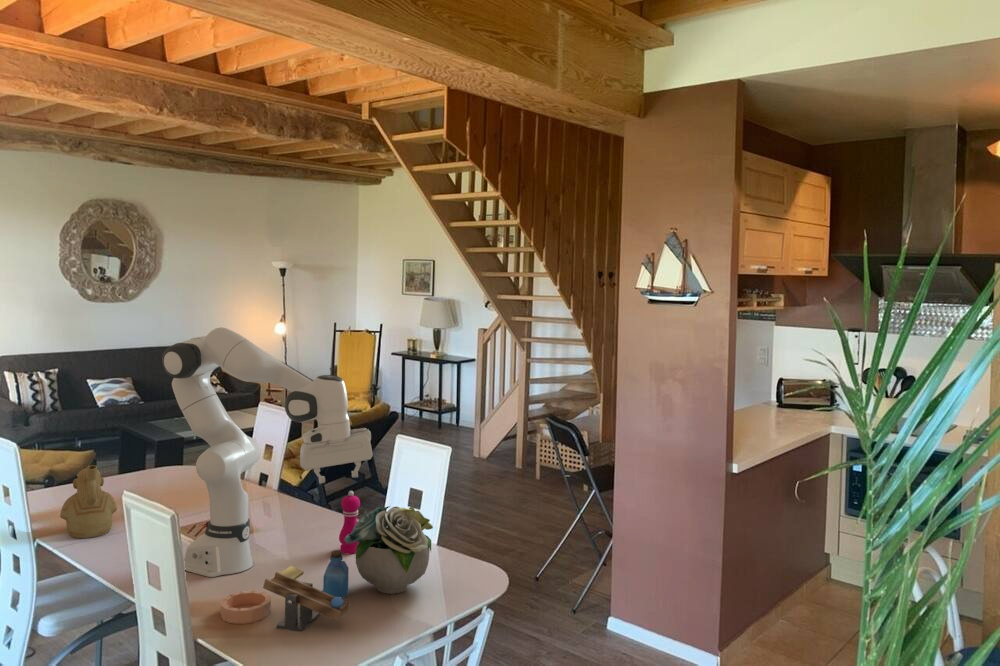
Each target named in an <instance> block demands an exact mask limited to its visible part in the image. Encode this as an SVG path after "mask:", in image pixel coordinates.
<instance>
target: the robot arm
mask: <svg viewBox="0 0 1000 666" xmlns="http://www.w3.org/2000/svg"><path fill="white" fill-rule="evenodd" d="M161 359H162V360H161V361H162V367H163V369H164V371H165V372H166V373H167V375H169V377H172V378H173V379H172V381H171V387H172V390H173V394H174V397H175V399H176V402H177V405H178V407H179V409H180V411H181V412H182V414H183V417H184V418H185V420H186V422H187V423H188V425H189V427H190V430H191V431H192V433H193V434H194V435H195V436H196V437H199V438H200V439H202V440H203V441H205V442H206V443H207V444H208V445H209V446H210V447H208V448H207V449H205V451H203V452H202V453H201V454H200V455H199V456H198V458H197V460H196V463H195V471H196V473H197V476H198V477H199V478H200V479H201V480H202V481H204V483H205V485H206V488H207V492H208V497H209V515H210V516H209V521H207V522H206V523H204V524H202V525H201V526H202V527H201V529H202V530H203V529H205V530H204V533H203V534H201V535H200V536H198V537H197V538H196V539H195V540H194V541H192V542H191V543H189V545H188V546H187V548H186V551H185V555H184V561H185V568H186V571H185V572H190V573H194V574H196V575H200V576H201V575H202V576H205V577H208V578H215V577H218V576H222V575H223V576H224V575H232V574H237V573H240V572H245V571H247V570H248V569H250V568H251V567H253V566H254V560H253V557H252V551H251V545H250V532H251V524H250V523H251V522H250V521H251V520H250V518H249V494H248V492H247V491H246V490H245V489H244V488H243V484H242V480H241V475H242V473H244V472H246V471H248V470H250V469H252V467H253V466H254V465H256V463H257V462H258V461H259V460H260V457H261V447H260V444H259V443H258V441H257V440H256V439H254V438H253V437H251V436H249V435H247V434H246V433H245V432H244V431H243V430H242V429H241V428H240V427H239V426H238V425H237V424H236V423H235V422H234V421H233V419H232V418H231V416H230V415H229V414H228V413H227V410H226V408H225V406H224V405H223V404H222V402H221V400H220V398H219V396H218V395H217V393H216V391H215V389H214V387H213V386H212V383H211V375H217V374H218V373H220V371H221V369H222V370H224V371H225V372H226V373H228V375H230V376H232V377H234V378H235V379H237V380H240V381H243V382H247V383H270V384H275V385H279V386H280V387H283V388H284V389H286V390H287V391H289V393H288V394H287V396H286V398H285V400H284V411H285V414H286V415H287V417H288V418H289V419H290V420H291V421H293V422H295V423H306V422H307V423H308V422H311V421H314V420H316V422H317V427H316V428H313V429H311V430H309V431H307V432H305V433H303V434H302V436H301V437H302V441H303V443H302V444H301V446H300V451H299V464H300V465H299V466H300V467H301V469H302V470H305V471H308V470H313V472H314V473H315V475H316V477H318V483H319V485H321V484H325V483H326V476H324V475H321V474H320V472H321V468H328V467H333V466H337V465H338V466H339V465H345V464H350V463H354V465H355V467H354V469H353V470H351V478H353V479H354V478H355V479H356V478H358V477H359V470H360V469H361V466H362V462H363V461H364V462H365V461H369V460H371V459H372V458H373V449H372V444H371V440H372V433H371V431H370V430H369V428H368V429H367V428H366V427H360V428H354V429H352V428H351V422H350V417H349V415H348V409H349V408H348V407H349V400H348V393H347V387H346V384H345V381H344V380H343V378H341V377H340V376H339V375H333V374H332V375H330V374H323V375H318V376H316V378H315V379H312V378H310V377H309V376H307V375H305V374H304V373H302V372H301V371H299V370H297V369H296V368H293V366H291V365H289V364H287V363H285V362H283V361H281V360H280V359H278V358H276V357H274V356H272V355H271V354H269V353H268V352H266V351H264V350H263V349H262V348H260V347H259V346H257V345H256V344H255V343H253V342H251V341H250V340H249V339H247V338H246V337H244V336H243V335H241V334H239V333H238V332H235V331H233V330H231V329H229V328H226V327H221V326H220V327H216V328H214V329H212V330H211V331H209V333H207V335H204V336H203V335H202V336H198V337H193V338H190V339H188V340H183V341H181V342H175V343H174V344H172V345H170V346H169V347H167V348H166V349H165V350H164V351H163V354H162V358H161Z"/></svg>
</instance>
